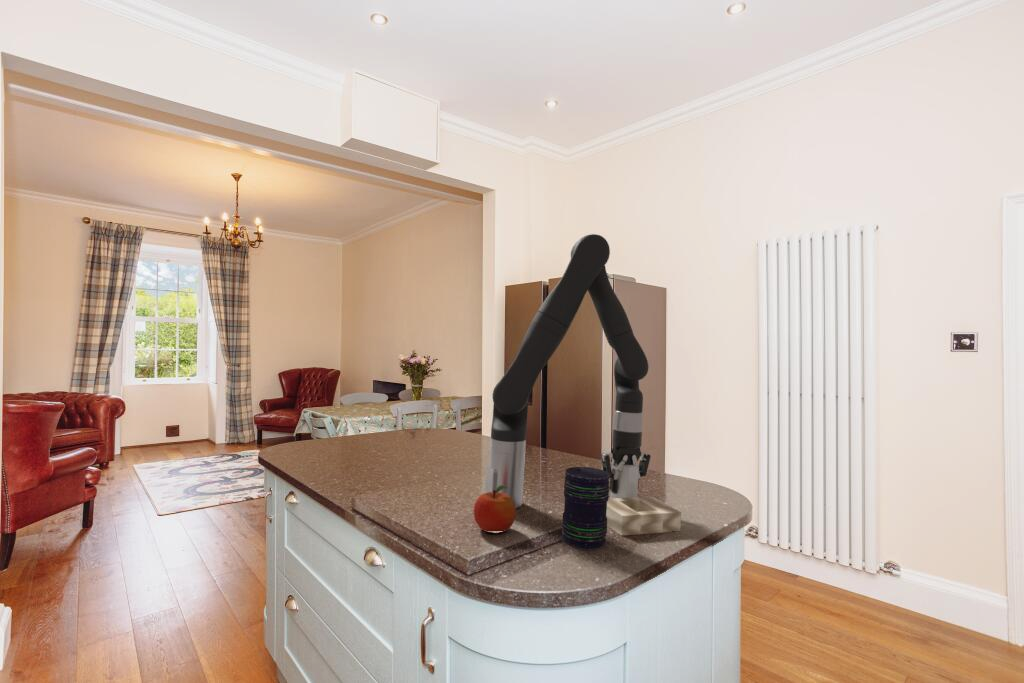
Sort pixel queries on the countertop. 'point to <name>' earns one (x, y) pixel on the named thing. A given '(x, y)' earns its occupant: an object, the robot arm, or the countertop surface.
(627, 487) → the skincare box
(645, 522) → the well block
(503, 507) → the fruit
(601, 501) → the storage jar
